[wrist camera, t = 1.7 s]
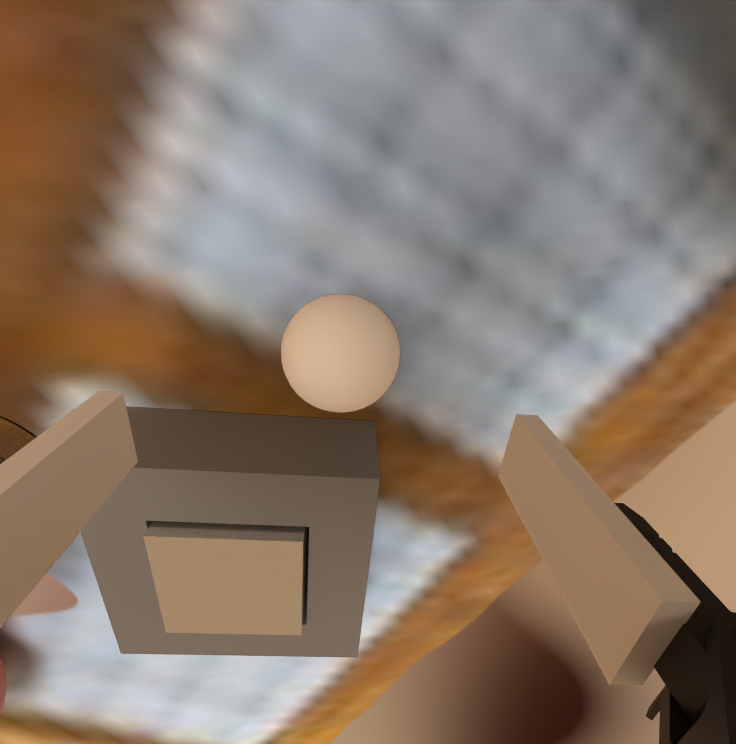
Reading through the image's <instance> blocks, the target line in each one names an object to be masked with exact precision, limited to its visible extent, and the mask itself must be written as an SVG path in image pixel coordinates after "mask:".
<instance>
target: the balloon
mask: <svg viewBox="0 0 736 744" xmlns="http://www.w3.org/2000/svg"><path fill="white" fill-rule="evenodd" d="M5 694H6V672H5V668H4V665H3V662H2V659H1V657H0V714H1V711H2V708H3V704H4V700H5Z"/></svg>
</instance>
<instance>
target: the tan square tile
mask: <svg viewBox="0 0 736 744" xmlns="http://www.w3.org/2000/svg"><path fill="white" fill-rule="evenodd" d="M143 537H144V542H145V546H146V550H147V554H148V559H149V563H150V567H151V571H152V576H153V580H154V584H155V588H156V593H157V597H158V601H159V605H160V609H161V614H162V618H163V622H164V626H165V631H166V633H208V634H258V635H302V627H303V619H304V611H305V603H306V580H307V539H308V527H300V526H274V525H248V524H222V523H196V522H170V521H152V523H151V525H150V526H149V528H148V529H147V531H146V532H145V534H144V536H143Z"/></svg>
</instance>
